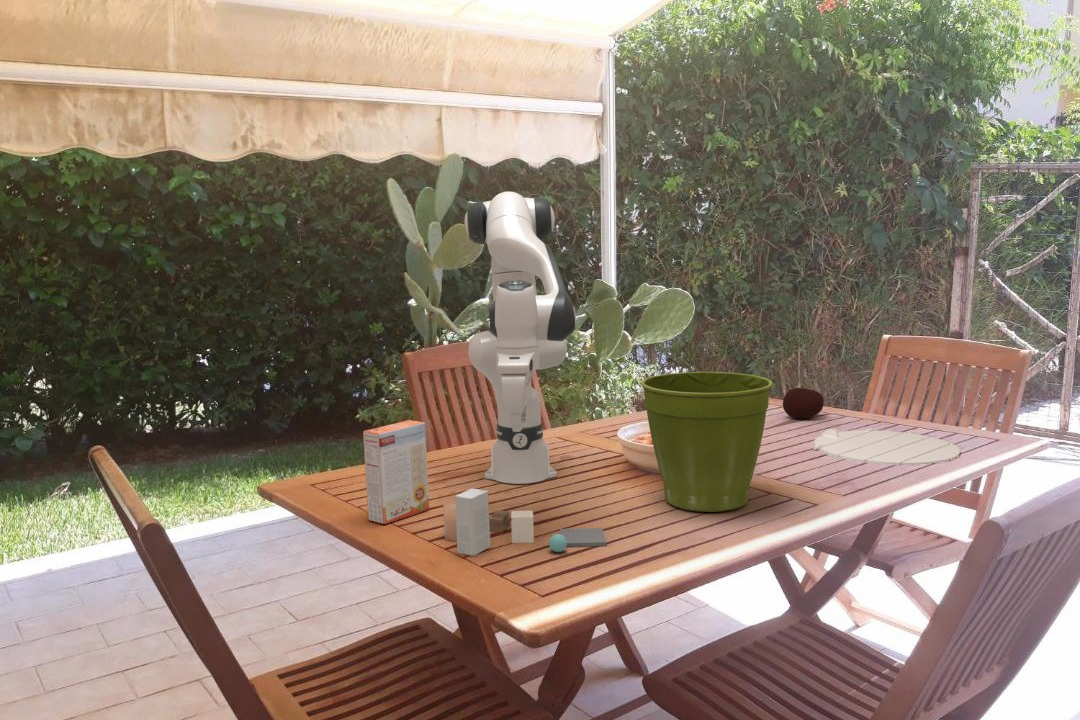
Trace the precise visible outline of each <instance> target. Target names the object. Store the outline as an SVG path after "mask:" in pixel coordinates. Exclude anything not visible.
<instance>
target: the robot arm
mask: <svg viewBox="0 0 1080 720" xmlns="http://www.w3.org/2000/svg"><path fill="white" fill-rule="evenodd" d="M555 217H556V216H555V213H554V209H553V207H552V205H551V203H550V201H549V200H548V199H547V198H544V197H540V196H539V197H538V196H534V197H532V198H531V197H524V196H522V195H521V194H519V193H517V192H515V191H502V192H499V193H498V194H497V195H495V196H494V197H493V198H492V200H488V201H483V200H481V201H477V202H476V201H475V202H474V203H471V204H470V205H469V206H468V207H467V210H466V213H465V216H464V229H465V232H466V234H467V236H468V238H469V240H470V241H471V242H472V243H474V244H477V245H486V244H487V249H488V252H489V255H490V256H491V262H490V263H491V264H490V265H491V283H492V298H493V301H492V303H490V305H489V306H488V307H487V310H488V311H487V312H488V317H489V328H488V330H485V331H481V332H477V333H475V334H474V335H473V337H472V338H471V339H470V341H469V344H468V348H467V350H468V351H467V353H468V354H467V355H468V358H469V361H470V363H471V364H472V367H473V368H475V369H476V370H477V371H478V372H479V373H481V374H483V376H484V377H486V379H488V381H489V382H490V384H491V386H492V388H493V390H494V392H495V396H496V398H495V399H496V405H497V424H496V428H495V429H496V430H495V431H496V438H497V439H496V442H495V443H494V444H493V445H492V446H491V448H490V457H491V461H490V464H491V466H490V467H489V468H488V469H487V470H486V472H485V473H484V477H483V478H484V479H487V480H494V481H496V482H500V483H503V484H516V485H517V484H518V485H519V484H520V485H521V484H534V483H539V482H542V481H545V480H547V479H551V478H555V477H558V474H557V473H558V472H557V471H556V470H555V469H554V468H553V467H552V466H551V465H550V448H549V447H550V446H549V445H548V443H546V441H545V440H544V439H543V437H544V427H543V425H544V424H543V423H542V414H541V412H542V410H541V409H542V406H541V404H542V403H541V401H542V400H541V399H542V398H541V395H540V393H539V391H538V390H537V389H536V388H534V387H532V377H534V371H535V370H537V371H538V370H546V369H549V368H553V367H556V366H560V365H561V364H562V363H563V362H564V360H565V358H566V356H567V353H568V352H567V351H568V343H567V338H568V337H570V336H571V335H572V334H573V333H574V331H575V330H576V324H577V323H576V322H577V315H576V309H575V306H574V305H573V301H572V299H571V297H570V295H569V294H568V291H567V289H566V285H565V283H564V281H563V277H562V274H561V271H560V268H559V265H558V263H557V259H556V257H555V255H554V253H553V252H554V251H553V250H552V248H551V247H550V245H549V244H547V243H545V242H544V241H545V240H547V239H548V238H549V237H550V236H551V235H552V233H553V232H552V231H553V229H554V227H555V220H556V219H555ZM536 277H537V278H539V279H540V280H541V283H542V286H543V289H544V292H545V294H541V295H540V294H538V293H537V292H538V291H537V285H536V284H537V283H536Z"/></svg>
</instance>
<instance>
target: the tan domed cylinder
mask: <svg viewBox="0 0 1080 720" xmlns="http://www.w3.org/2000/svg"><path fill="white" fill-rule="evenodd" d="M443 525H444V526H443V527H444V528H443V529H444V530H443V531H444V535H443V536H444V539H445V540H447V541H448V542H449V541H450V542H456V543H457V529H456V505H455V499H452V500H449V501H446V502H444V503H443Z"/></svg>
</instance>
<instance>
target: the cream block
mask: <svg viewBox="0 0 1080 720" xmlns="http://www.w3.org/2000/svg"><path fill="white" fill-rule="evenodd" d="M510 517H511V519H510V523H511V544H532V543H534V541H535V539H534V536H535V535H534V510H511V515H510Z"/></svg>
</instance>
